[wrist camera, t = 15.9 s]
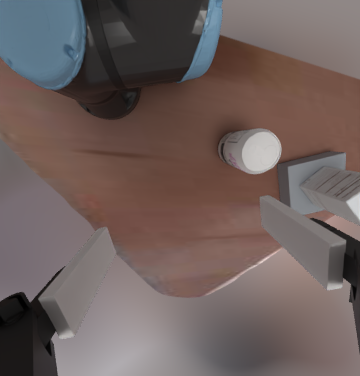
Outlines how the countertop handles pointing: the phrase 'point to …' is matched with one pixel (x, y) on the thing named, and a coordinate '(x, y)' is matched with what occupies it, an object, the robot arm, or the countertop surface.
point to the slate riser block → (304, 178)
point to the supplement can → (250, 150)
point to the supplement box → (335, 192)
